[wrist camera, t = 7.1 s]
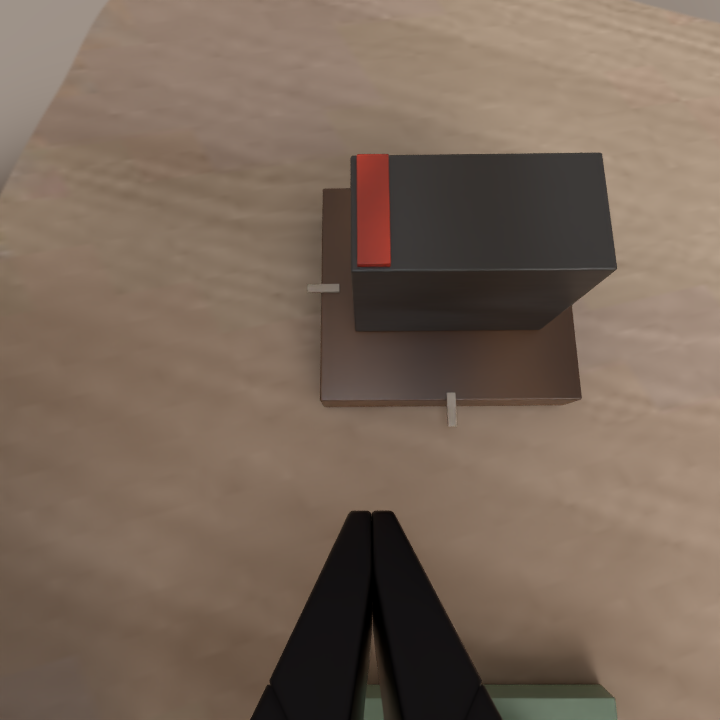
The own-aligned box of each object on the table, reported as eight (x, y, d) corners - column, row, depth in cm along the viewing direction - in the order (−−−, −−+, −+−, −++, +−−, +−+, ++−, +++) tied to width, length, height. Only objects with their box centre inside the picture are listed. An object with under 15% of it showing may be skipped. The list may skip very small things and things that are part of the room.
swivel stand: (553, 188, 24) (571, 162, 22) (578, 429, 22) (601, 425, 20) (314, 191, 24) (309, 165, 22) (310, 431, 22) (304, 427, 20)
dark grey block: (532, 244, 21) (606, 146, 15) (540, 330, 21) (622, 266, 14) (354, 246, 22) (350, 149, 15) (355, 331, 21) (350, 268, 14)
